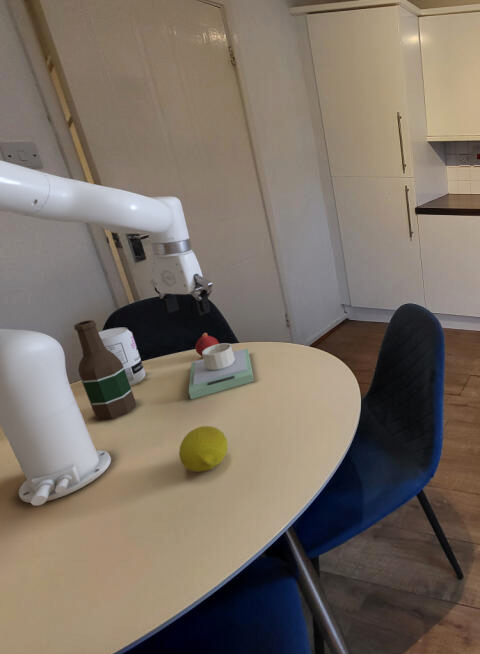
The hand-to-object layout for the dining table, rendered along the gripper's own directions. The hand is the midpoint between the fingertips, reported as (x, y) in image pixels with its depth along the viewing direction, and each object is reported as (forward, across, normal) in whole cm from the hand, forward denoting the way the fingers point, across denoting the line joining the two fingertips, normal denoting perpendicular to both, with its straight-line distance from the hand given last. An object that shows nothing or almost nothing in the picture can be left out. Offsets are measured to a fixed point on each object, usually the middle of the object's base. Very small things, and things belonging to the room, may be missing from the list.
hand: (188, 312), depth 107 cm
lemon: (+22, +26, -25) cm, 42 cm away
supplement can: (+22, -24, -2) cm, 32 cm away
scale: (+21, 0, +5) cm, 22 cm away
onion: (+21, -12, +14) cm, 28 cm away
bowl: (+18, 0, +6) cm, 19 cm away
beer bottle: (+22, -12, -13) cm, 28 cm away
